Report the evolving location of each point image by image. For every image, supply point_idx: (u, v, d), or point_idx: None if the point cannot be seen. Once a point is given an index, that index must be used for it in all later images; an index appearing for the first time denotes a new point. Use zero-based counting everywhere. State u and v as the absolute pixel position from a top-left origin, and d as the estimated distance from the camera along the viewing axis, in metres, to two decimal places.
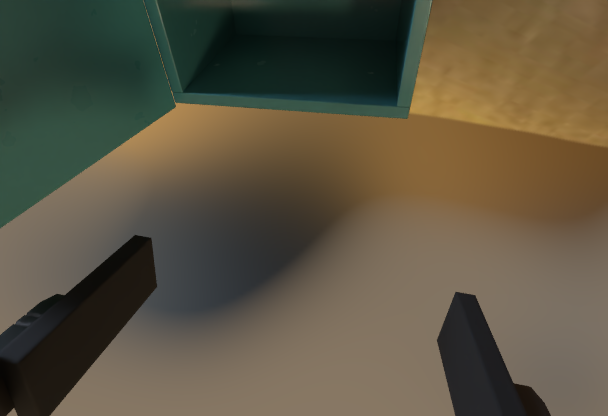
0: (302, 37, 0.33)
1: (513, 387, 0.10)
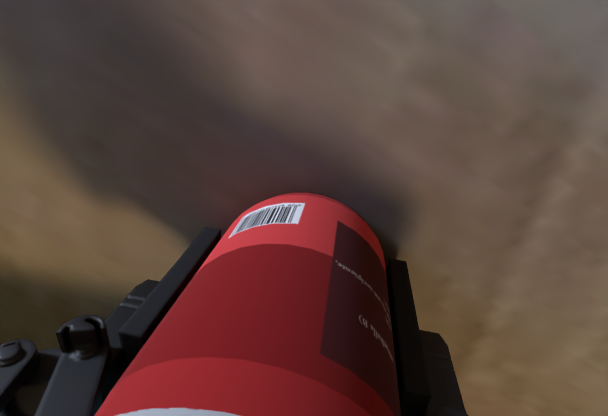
0: None
1: (417, 330, 0.12)
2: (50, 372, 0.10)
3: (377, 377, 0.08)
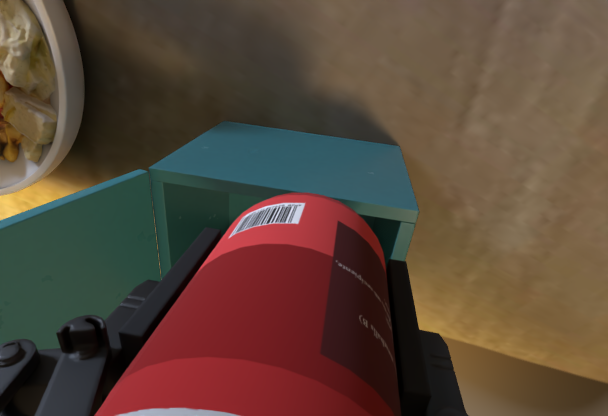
0: None
1: (417, 330, 0.12)
2: (50, 372, 0.10)
3: (377, 377, 0.08)
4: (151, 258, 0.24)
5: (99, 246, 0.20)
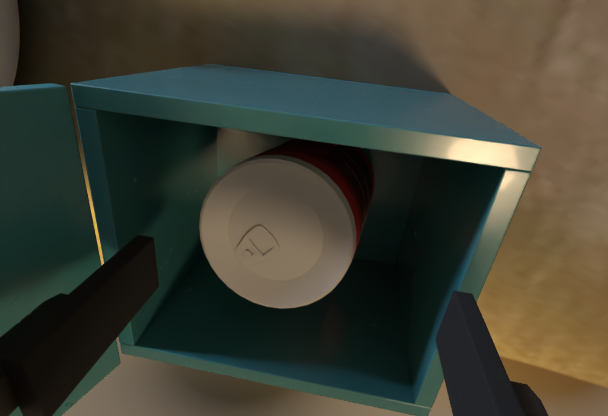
0: None
1: (509, 384, 0.10)
2: None
3: (349, 179, 0.17)
4: (82, 240, 0.15)
5: None
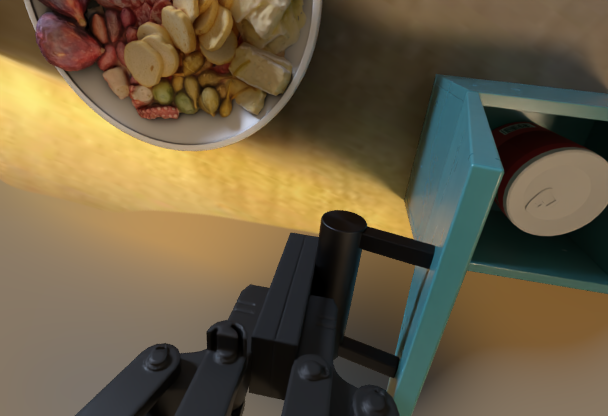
0: None
1: (307, 294, 0.13)
2: None
3: None
4: None
5: None
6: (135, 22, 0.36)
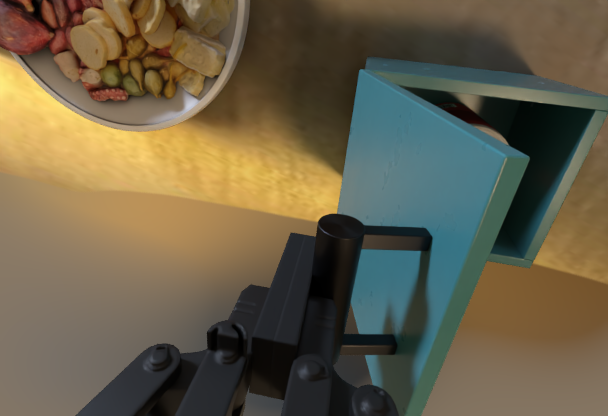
0: None
1: (306, 293, 0.13)
2: (195, 376, 0.10)
3: None
4: None
5: None
6: (81, 7, 0.38)
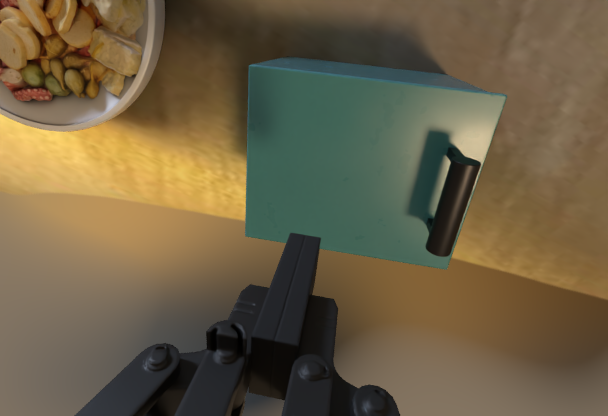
0: None
1: (307, 294, 0.13)
2: None
3: None
4: None
5: None
6: (0, 7, 0.38)
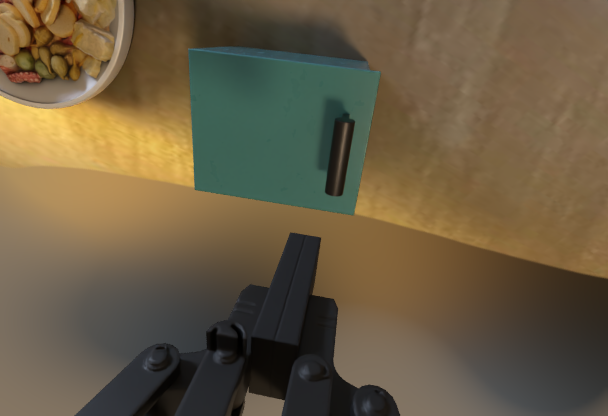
0: None
1: (307, 294, 0.13)
2: None
3: None
4: None
5: None
6: None
